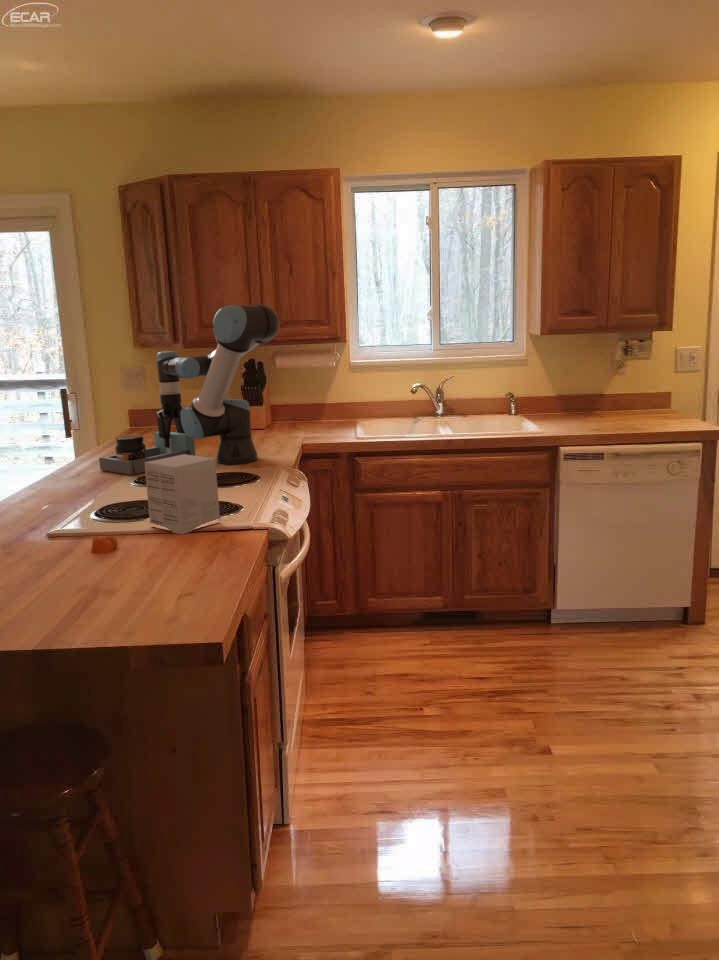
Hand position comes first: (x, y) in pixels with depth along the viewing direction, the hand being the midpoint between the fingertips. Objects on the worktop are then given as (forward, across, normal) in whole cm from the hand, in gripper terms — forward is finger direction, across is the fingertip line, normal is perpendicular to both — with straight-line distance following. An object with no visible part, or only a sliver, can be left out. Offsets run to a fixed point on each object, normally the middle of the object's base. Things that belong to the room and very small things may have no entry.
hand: (175, 454), depth 297 cm
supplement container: (+2, +20, 0) cm, 20 cm away
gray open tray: (+2, +13, 0) cm, 13 cm away
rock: (+3, +84, +78) cm, 114 cm away
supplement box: (+2, +59, +77) cm, 97 cm away
